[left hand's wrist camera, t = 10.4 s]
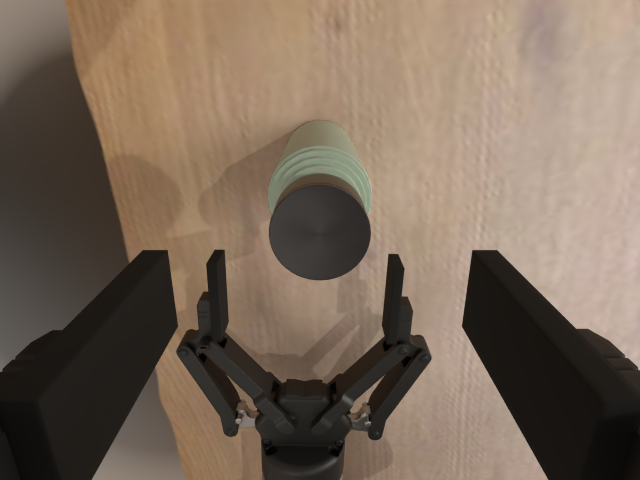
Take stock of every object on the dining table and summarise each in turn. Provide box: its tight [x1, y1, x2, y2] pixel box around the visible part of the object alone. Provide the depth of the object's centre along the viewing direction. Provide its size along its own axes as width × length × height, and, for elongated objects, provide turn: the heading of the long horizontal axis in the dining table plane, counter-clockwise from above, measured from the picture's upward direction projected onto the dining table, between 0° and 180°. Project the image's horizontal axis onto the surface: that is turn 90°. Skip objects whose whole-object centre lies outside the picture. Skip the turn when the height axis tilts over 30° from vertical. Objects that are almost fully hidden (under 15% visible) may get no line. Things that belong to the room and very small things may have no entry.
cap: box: [269, 173, 371, 280], centre depth 19 cm, size 4×4×2 cm
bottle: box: [268, 120, 372, 215], centre depth 27 cm, size 6×6×19 cm
